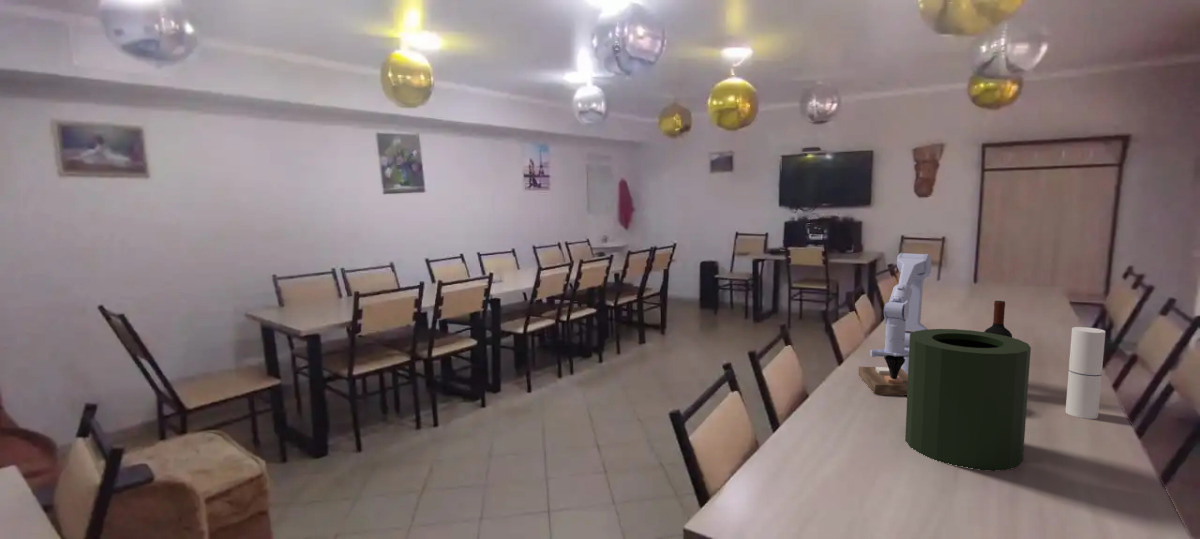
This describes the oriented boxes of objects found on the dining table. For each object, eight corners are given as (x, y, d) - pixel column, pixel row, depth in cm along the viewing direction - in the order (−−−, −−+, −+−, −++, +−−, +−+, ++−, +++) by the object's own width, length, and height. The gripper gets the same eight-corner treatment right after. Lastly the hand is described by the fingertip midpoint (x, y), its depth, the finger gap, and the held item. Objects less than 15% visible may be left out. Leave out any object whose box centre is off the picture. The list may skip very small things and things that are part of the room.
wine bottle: (999, 388, 183) (1005, 299, 179) (1014, 396, 175) (1020, 303, 172) (975, 388, 184) (980, 299, 180) (988, 396, 176) (994, 303, 173)
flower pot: (966, 477, 126) (973, 358, 122) (882, 434, 150) (886, 333, 147) (1049, 461, 132) (1058, 347, 129) (956, 422, 156) (961, 325, 153)
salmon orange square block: (898, 385, 185) (898, 376, 185) (902, 389, 181) (903, 380, 180) (883, 384, 186) (884, 375, 186) (888, 389, 182) (888, 379, 181)
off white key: (888, 376, 195) (888, 367, 194) (892, 380, 191) (892, 371, 190) (875, 375, 196) (875, 366, 195) (878, 379, 191) (879, 370, 191)
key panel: (900, 377, 197) (900, 367, 196) (921, 396, 177) (922, 386, 177) (858, 375, 199) (858, 366, 199) (874, 394, 180) (875, 384, 180)
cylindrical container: (1069, 416, 159) (1076, 331, 156) (1062, 408, 165) (1068, 326, 162) (1101, 420, 155) (1109, 333, 152) (1093, 411, 162) (1100, 328, 159)
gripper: (874, 340, 179) (873, 381, 180) (923, 341, 176) (921, 382, 178) (868, 335, 186) (867, 374, 187) (915, 336, 183) (913, 376, 185)
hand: (893, 378), depth 183 cm, fingers closed, pressing on salmon orange square block
